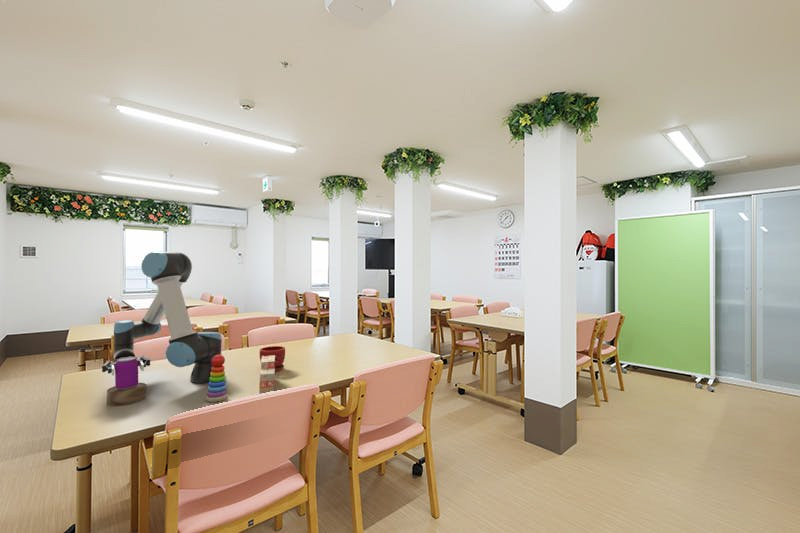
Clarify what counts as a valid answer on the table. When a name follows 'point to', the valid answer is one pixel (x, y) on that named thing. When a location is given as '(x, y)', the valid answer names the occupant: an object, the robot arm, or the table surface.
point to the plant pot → (278, 353)
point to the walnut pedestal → (126, 395)
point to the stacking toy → (217, 380)
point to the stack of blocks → (267, 374)
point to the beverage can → (126, 373)
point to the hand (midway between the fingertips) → (128, 369)
